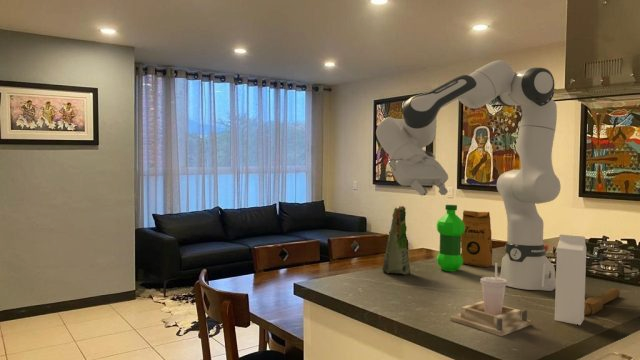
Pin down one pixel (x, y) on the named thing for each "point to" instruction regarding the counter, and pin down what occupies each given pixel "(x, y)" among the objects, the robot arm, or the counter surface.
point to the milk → (570, 279)
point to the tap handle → (599, 301)
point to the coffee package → (476, 239)
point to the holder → (492, 319)
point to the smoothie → (493, 293)
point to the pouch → (397, 245)
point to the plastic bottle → (450, 240)
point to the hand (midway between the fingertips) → (435, 193)
